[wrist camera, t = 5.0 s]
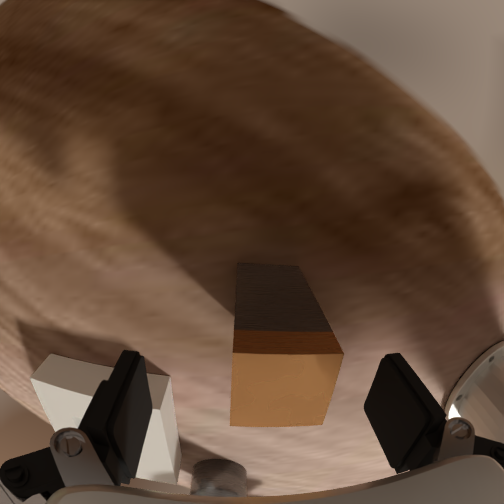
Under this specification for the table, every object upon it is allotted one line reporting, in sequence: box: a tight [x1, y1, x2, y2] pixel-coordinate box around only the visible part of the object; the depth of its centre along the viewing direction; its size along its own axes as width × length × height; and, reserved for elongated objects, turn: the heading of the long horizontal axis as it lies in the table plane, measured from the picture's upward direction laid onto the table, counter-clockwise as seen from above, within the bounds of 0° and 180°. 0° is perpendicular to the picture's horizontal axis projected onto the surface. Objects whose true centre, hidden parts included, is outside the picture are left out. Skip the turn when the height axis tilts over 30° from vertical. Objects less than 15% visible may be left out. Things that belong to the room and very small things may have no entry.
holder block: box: [30, 354, 182, 485], centre depth 21 cm, size 12×12×4 cm
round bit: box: [190, 459, 247, 497], centre depth 22 cm, size 6×6×8 cm
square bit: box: [230, 263, 344, 427], centre depth 15 cm, size 4×4×10 cm
